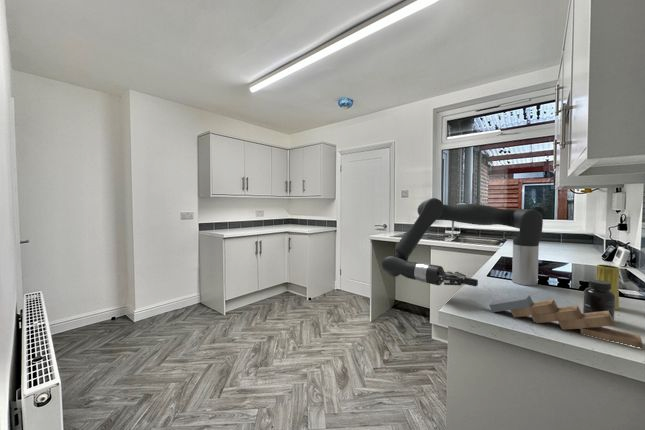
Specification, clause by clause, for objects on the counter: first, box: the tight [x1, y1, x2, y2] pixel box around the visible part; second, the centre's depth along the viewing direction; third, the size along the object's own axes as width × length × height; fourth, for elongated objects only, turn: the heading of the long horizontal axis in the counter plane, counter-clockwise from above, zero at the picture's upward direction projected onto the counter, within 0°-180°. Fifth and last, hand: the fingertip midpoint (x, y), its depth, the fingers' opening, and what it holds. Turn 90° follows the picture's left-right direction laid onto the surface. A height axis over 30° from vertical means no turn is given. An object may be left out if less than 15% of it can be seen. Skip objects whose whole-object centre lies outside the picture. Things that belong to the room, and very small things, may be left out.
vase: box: [595, 264, 620, 311], centre depth 93 cm, size 6×6×14 cm
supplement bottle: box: [582, 279, 616, 322], centre depth 83 cm, size 7×7×12 cm
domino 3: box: [530, 305, 583, 324], centre depth 80 cm, size 5×2×11 cm
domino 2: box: [510, 298, 558, 318], centre depth 83 cm, size 5×2×11 cm
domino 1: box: [488, 294, 533, 313], centre depth 88 cm, size 5×2×11 cm
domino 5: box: [580, 326, 643, 349], centre depth 72 cm, size 5×2×11 cm
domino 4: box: [557, 311, 616, 330], centre depth 75 cm, size 5×2×11 cm
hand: (477, 283), depth 95 cm, fingers closed
